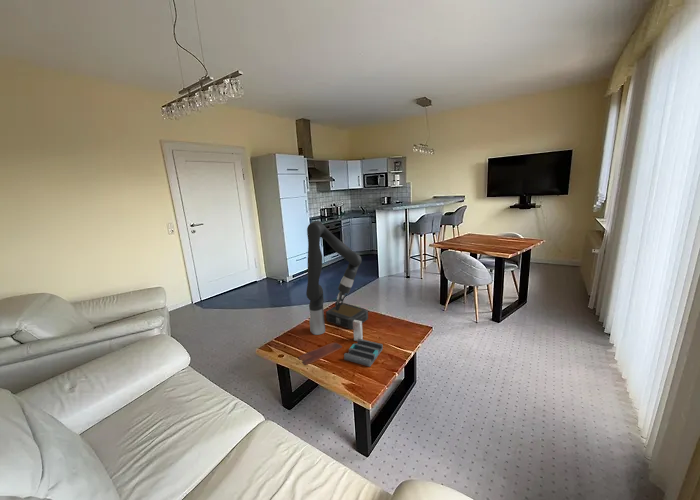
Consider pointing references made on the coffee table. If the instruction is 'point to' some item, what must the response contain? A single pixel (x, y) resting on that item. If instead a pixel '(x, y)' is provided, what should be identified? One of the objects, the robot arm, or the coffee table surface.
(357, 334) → the panel
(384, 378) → the coffee table surface
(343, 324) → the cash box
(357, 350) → the rack
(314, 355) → the wooden tablet
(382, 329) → the coffee table surface
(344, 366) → the coffee table surface
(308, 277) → the robot arm
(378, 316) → the coffee table surface
